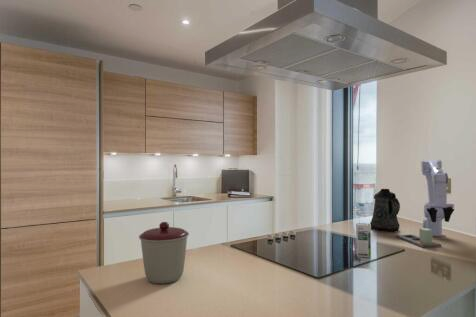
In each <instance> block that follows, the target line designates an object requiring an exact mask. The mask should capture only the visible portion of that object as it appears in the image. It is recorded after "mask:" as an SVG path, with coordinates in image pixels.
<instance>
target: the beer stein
mask: <svg viewBox="0 0 476 317" xmlns="http://www.w3.org/2000/svg"><path fill="white" fill-rule="evenodd" d="M373 199H374V207H373V213H372V216H371V221H370V222H369V224H370V228H371V230H372V231H375V232H381V233H398V232H399V230H400V222H399V220H398V215H399V212H400V210H401V204H400V201H399V199H398V198H397V196H396V193H395V192H391V191H390V189H389V188H381V189H380V190H379V191H378V192H376V193H375V194H374V195H373Z"/></svg>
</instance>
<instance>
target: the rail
mask: <svg viewBox="0 0 476 317" xmlns="http://www.w3.org/2000/svg"><path fill="white" fill-rule="evenodd" d="M395 237H396V238H397V239H400V240H402V241H405V242H407V243H410V244H413V245H414V246H418V247H419V248H422V249H424V248H425V249H427V248H442V244H441V243H438V242H436V241H433V240H432V244H423V243H421V242H420V235H419V236H418V235H415V234H396V235H395Z"/></svg>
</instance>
